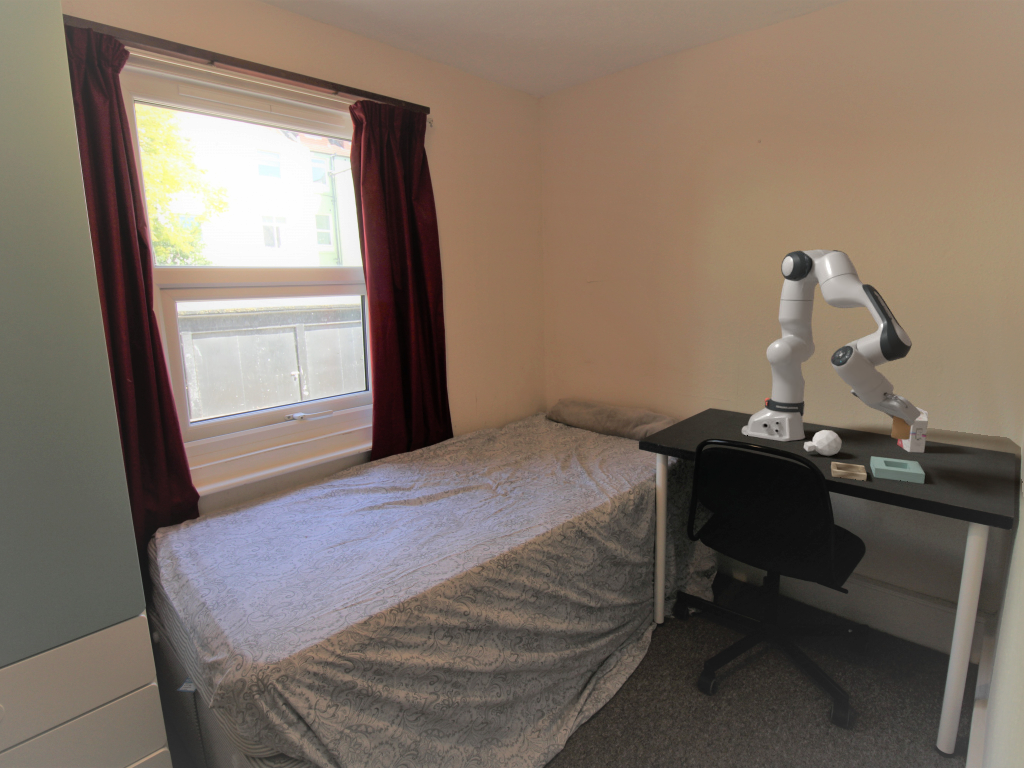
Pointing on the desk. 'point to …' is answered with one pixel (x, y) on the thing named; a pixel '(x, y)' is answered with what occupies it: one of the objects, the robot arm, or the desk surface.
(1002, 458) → the desk surface
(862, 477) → the square wooden frame
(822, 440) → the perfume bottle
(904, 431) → the plug
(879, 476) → the socket block
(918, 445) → the ink cartridge box
